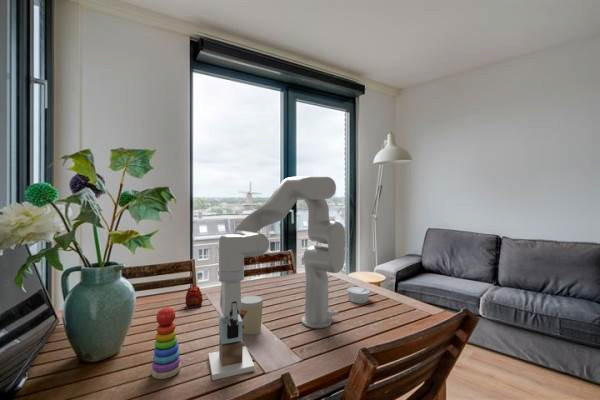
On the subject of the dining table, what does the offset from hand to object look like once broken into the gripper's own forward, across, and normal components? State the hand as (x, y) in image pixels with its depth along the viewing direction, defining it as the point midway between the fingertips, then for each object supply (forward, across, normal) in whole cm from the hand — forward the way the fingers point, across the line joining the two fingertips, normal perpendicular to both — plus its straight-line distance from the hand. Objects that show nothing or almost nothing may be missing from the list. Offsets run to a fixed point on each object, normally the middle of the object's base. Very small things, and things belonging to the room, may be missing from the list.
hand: (230, 332), depth 88 cm
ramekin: (+10, -32, +69) cm, 77 cm away
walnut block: (+8, 0, 0) cm, 8 cm away
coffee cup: (+10, -20, +11) cm, 25 cm away
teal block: (+2, 0, 0) cm, 2 cm away
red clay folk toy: (+10, -54, -8) cm, 56 cm away
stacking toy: (+10, -3, -18) cm, 21 cm away
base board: (+10, 0, 0) cm, 10 cm away
